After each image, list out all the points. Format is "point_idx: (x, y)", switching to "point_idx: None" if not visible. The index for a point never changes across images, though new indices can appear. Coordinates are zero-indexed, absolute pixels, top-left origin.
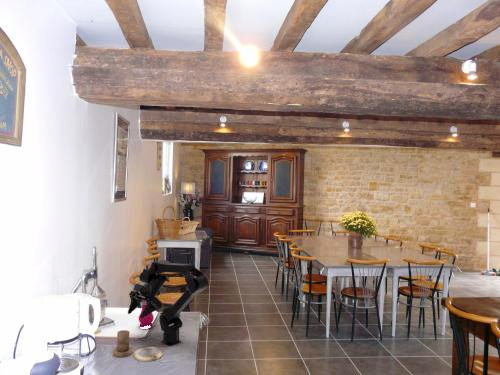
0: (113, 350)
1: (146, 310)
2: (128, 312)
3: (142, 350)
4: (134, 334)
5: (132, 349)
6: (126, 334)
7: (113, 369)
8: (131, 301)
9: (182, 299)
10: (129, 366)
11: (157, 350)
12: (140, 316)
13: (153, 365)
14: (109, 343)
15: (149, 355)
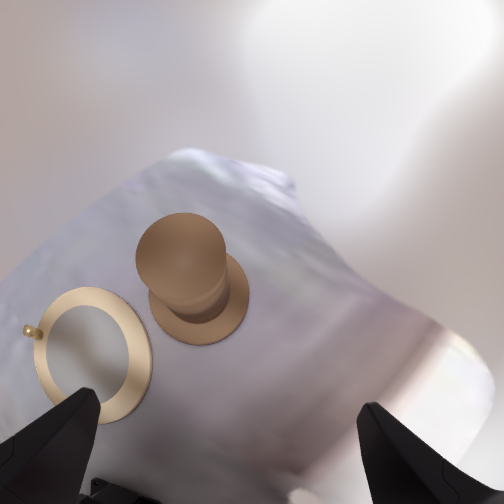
0: (229, 256)
1: (11, 453)
2: (368, 410)
3: (121, 356)
4: (362, 470)
5: (162, 327)
6: (138, 249)
7: (120, 191)
8: (480, 495)
9: None
10: (86, 237)
11: (70, 394)
12: (81, 394)
13: (27, 295)
14: (357, 322)
15: (61, 331)
